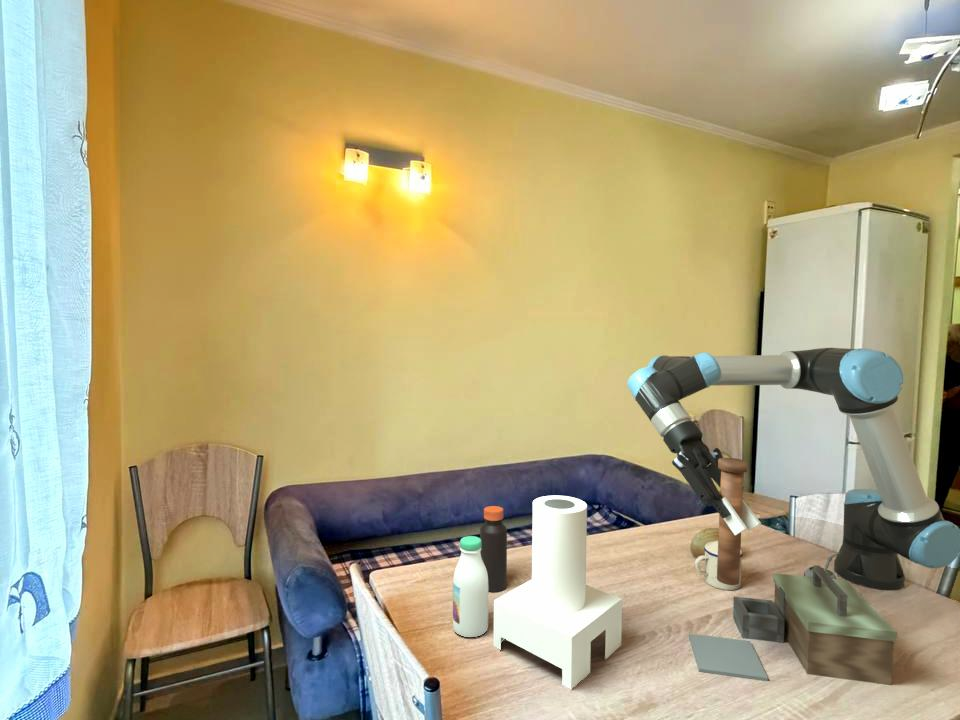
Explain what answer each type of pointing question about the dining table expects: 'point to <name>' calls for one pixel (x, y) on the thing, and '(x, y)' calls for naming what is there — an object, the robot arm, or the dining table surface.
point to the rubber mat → (726, 657)
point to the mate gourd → (810, 570)
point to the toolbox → (822, 626)
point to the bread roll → (703, 540)
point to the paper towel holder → (559, 595)
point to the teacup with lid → (714, 567)
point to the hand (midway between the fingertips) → (747, 529)
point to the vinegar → (494, 548)
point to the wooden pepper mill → (726, 540)
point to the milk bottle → (470, 590)
